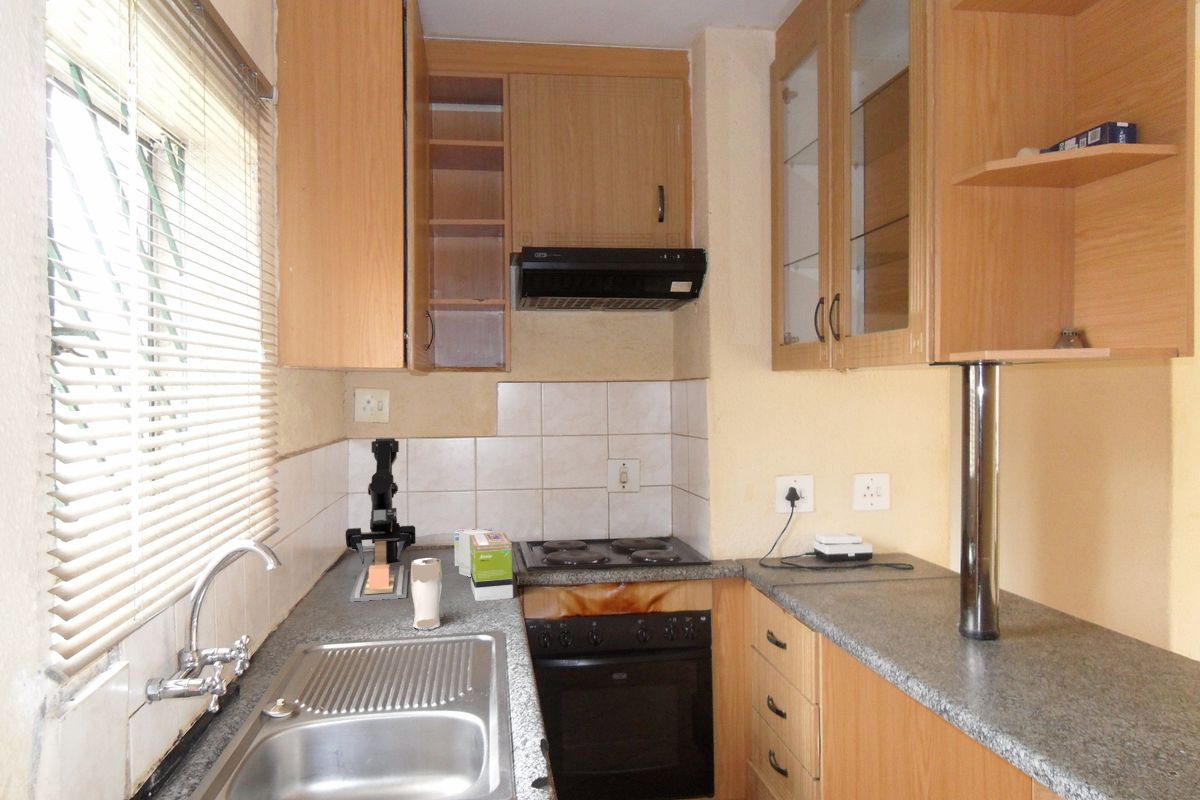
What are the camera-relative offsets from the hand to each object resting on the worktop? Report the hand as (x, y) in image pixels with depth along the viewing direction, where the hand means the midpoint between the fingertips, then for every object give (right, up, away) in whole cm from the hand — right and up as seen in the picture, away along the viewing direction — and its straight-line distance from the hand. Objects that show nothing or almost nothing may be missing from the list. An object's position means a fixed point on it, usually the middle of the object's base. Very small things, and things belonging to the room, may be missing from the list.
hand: (380, 561), depth 212 cm
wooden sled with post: (+1, -6, -3) cm, 7 cm away
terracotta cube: (+2, -5, -6) cm, 8 cm away
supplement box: (+24, -7, +16) cm, 29 cm away
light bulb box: (+21, -7, +29) cm, 36 cm away
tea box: (+31, -7, -6) cm, 33 cm away
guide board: (0, -7, +2) cm, 8 cm away
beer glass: (+21, -8, -36) cm, 42 cm away
